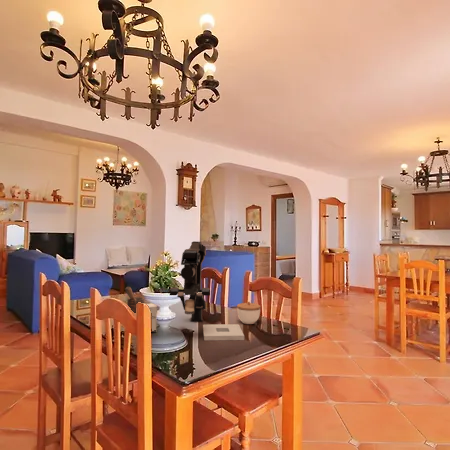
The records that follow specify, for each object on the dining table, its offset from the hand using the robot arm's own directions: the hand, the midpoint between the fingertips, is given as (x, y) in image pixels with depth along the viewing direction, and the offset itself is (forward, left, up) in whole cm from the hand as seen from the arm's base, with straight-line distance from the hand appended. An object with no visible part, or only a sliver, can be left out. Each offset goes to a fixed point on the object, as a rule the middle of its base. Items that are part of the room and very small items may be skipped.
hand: (189, 309), depth 153 cm
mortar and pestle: (-17, -28, -12) cm, 35 cm away
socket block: (0, +16, -11) cm, 19 cm away
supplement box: (-5, -20, -12) cm, 24 cm away
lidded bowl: (-20, +32, -12) cm, 39 cm away
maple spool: (0, 0, -2) cm, 2 cm away
